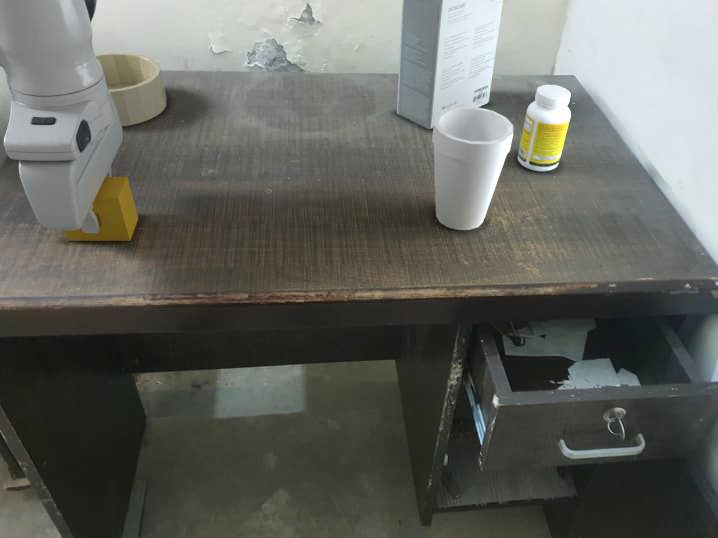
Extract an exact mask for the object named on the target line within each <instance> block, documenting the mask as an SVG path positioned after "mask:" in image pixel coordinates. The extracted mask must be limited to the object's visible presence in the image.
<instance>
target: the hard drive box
mask: <svg viewBox="0 0 718 538" xmlns="http://www.w3.org/2000/svg"><path fill="white" fill-rule="evenodd" d="M503 5H504V0H401V18H400V19H401V20H400V40H399V60H398V83H397V104H396V105H397V106H396V107H397V108H396V114H397V115H398V116H401V117H402V118H404V119H407V120H409V121H411V122H412V123H415V124H417V125H419V126H421V127H423V128H425V129H427V130H431V129H433V127H434V121H435V116H436V115H437V114H439V113H440V112H442V111H443V110H446V109H450V108H455V107H478V108H481V107H482V106H484V105H486V104H489V101H490V95H491V89H492V88H491V87H492V81H493V75H494V74H493V73H494V67H495V59H496V54H497V46H498V40H499V32H500V25H501V18H502V11H503Z"/></svg>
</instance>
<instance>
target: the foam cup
mask: <svg viewBox="0 0 718 538" xmlns="http://www.w3.org/2000/svg"><path fill="white" fill-rule="evenodd" d="M432 129H433V130H432V137H431V143H432V145H433V161H434V162H433V165H434V166H433V171H434V196H435V213H436V214H435V217H436V219H437V220H438V222H439V223H440V224H441V225H444V226H445V227H447V228H449V229H452V230H456V231H470V230H474V229H477V228H479V227H480V226H481V225H482V224H483V223H484V219H485V218H486V216H487V212H488V210H489V207H490V205H491V201H492V199H493V195H494V193H495V190H496V187H497V184H498V181H499V178H500V175H501V172H502V170H503V166H504V164H505V161H506V158H507V156H508V154H509V153H510V151H511V147H512V141H513V136H514V124H513V123H512V122H511V121H510V120H509V119H508V118H507V117H506V116H505V115H502V114H501V113H498V112H496V111H494V110H491V109H488V108H482V107H455V108H450V109H446V110H443V111H442V112H440V113H439V114H437V115H436V116H435V121H434V127H433V128H432Z"/></svg>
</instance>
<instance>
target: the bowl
mask: <svg viewBox="0 0 718 538" xmlns="http://www.w3.org/2000/svg"><path fill="white" fill-rule="evenodd" d="M95 56H96V58H97V59H98V61H99V62H100V64H101V66H102V69H103V72H104V76H105V80H106V84H107V88H108V90H109V92H110V93H111V95H112V98H113V100H114V103H115V106H116V109H117V112H118V115H119V119H120V122H121V125H122V127H128V126H132V125H133V126H134V125H137V124H141V123H144V122H147V121H149V120H152V119H153V118H155V117H157V116H158V115H160V114H161V113H163V111H164V110H166V109H165V108H166V107H167V104H168V103H167V94H166V89H165V85H164V79H163V75H162V69H161V65H160V64H159V63H158V62H157V61H156V60H155V59H153V58H152V57H149V56H146V55H143V54H139V53H132V52H115V51H114V52H101V53H95Z"/></svg>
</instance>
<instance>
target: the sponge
mask: <svg viewBox="0 0 718 538" xmlns="http://www.w3.org/2000/svg"><path fill="white" fill-rule="evenodd" d="M92 211H93V212H94V214H99V217H100V221H101V226H100V229H99V231H98V233H84V232H83V231H82V229H81V228H80V229H78V230H64V233H65V235H66V238H67V241H68V242H130V241H131V240H132V237H133V234H134V232H135V229H136V226H137V223H138V221H139V216H138V212H137V209H136V205H135V200H134V197H133V193H132V189H131V186H130V181H129V178H128V176H112V177H105V179H104V181H103V183H102V185H101V187H100V190H99V192H98V194H97V196H96V198H95V200H94V202H93V208H92Z"/></svg>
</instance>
